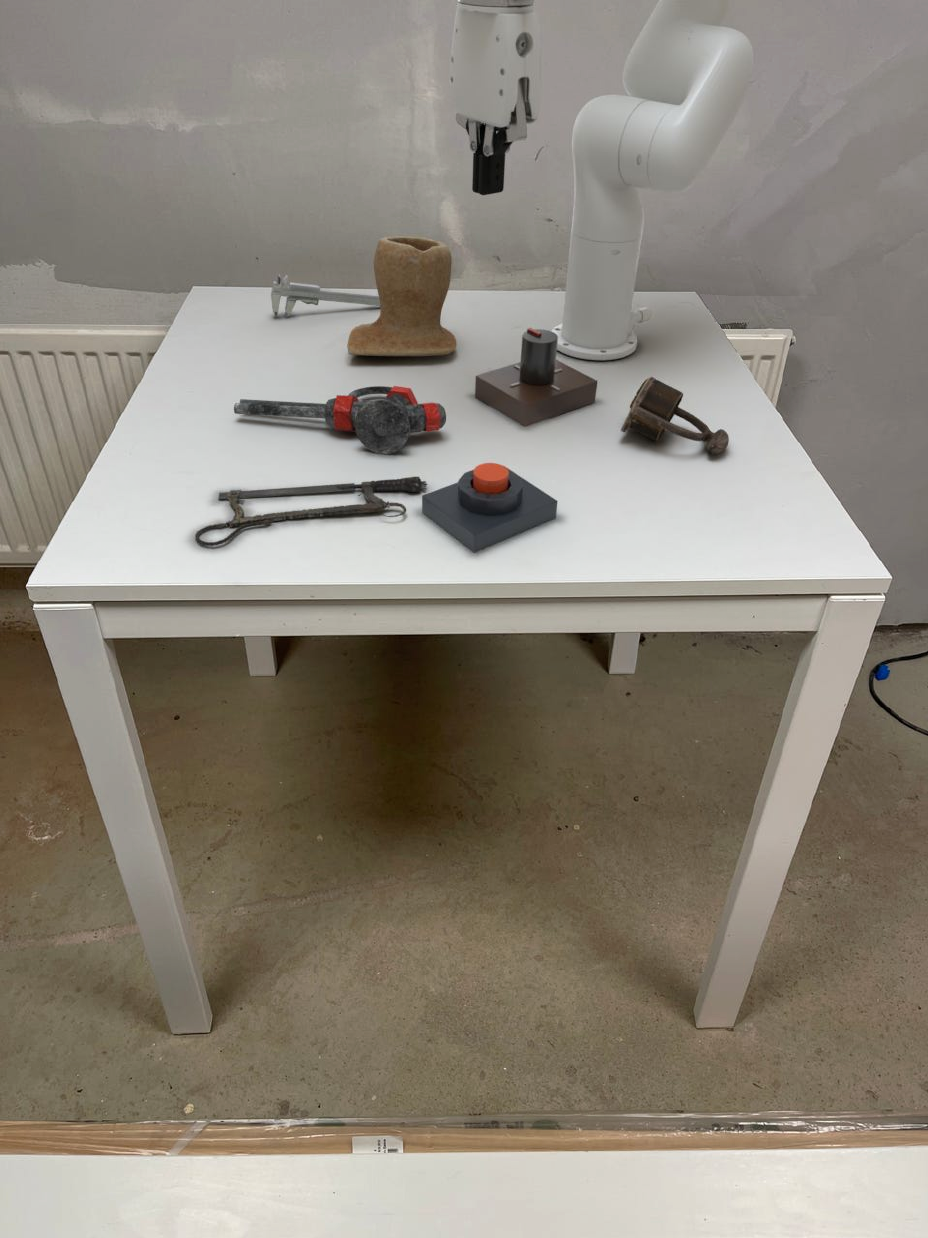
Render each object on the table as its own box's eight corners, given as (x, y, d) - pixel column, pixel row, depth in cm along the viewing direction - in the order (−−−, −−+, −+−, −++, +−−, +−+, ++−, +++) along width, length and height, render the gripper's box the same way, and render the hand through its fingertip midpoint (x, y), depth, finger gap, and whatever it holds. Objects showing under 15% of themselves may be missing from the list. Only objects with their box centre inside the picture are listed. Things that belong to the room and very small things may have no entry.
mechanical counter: (660, 368, 112) (612, 373, 105) (751, 393, 104) (706, 400, 98) (648, 425, 115) (601, 433, 108) (735, 453, 107) (691, 464, 101)
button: (493, 473, 95) (493, 459, 93) (514, 488, 92) (516, 473, 91) (466, 484, 93) (466, 469, 92) (487, 499, 91) (488, 484, 90)
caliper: (274, 319, 135) (269, 276, 131) (273, 316, 136) (268, 274, 132) (405, 306, 140) (404, 265, 136) (403, 303, 141) (402, 263, 137)
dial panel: (544, 374, 122) (546, 352, 120) (595, 402, 116) (598, 379, 114) (474, 397, 116) (475, 374, 114) (524, 427, 110) (526, 403, 108)
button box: (502, 482, 100) (504, 450, 98) (556, 518, 95) (559, 485, 92) (421, 513, 95) (421, 480, 92) (474, 553, 90) (475, 519, 87)
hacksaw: (426, 484, 99) (426, 472, 98) (435, 536, 92) (435, 524, 91) (203, 494, 97) (201, 482, 96) (193, 549, 89) (191, 536, 88)
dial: (561, 379, 114) (565, 335, 110) (535, 388, 112) (538, 343, 108) (538, 367, 117) (541, 323, 113) (512, 375, 115) (515, 331, 111)
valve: (460, 418, 116) (437, 459, 103) (268, 406, 119) (223, 444, 107) (460, 369, 112) (437, 405, 100) (263, 358, 116) (216, 391, 103)
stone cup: (453, 332, 133) (455, 225, 123) (458, 365, 124) (461, 253, 114) (350, 332, 132) (344, 225, 122) (347, 366, 123) (341, 253, 113)
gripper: (575, -3, 85) (557, 203, 97) (479, -17, 94) (473, 172, 106) (515, 1, 82) (504, 213, 94) (420, -15, 91) (421, 181, 103)
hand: (487, 191), depth 100 cm, fingers closed
